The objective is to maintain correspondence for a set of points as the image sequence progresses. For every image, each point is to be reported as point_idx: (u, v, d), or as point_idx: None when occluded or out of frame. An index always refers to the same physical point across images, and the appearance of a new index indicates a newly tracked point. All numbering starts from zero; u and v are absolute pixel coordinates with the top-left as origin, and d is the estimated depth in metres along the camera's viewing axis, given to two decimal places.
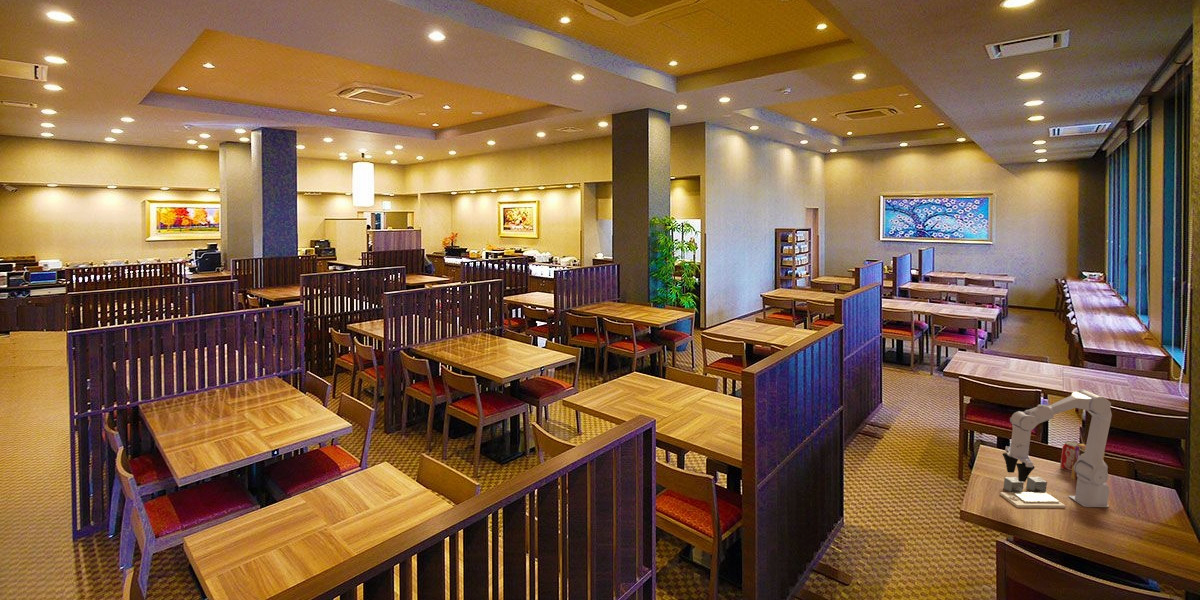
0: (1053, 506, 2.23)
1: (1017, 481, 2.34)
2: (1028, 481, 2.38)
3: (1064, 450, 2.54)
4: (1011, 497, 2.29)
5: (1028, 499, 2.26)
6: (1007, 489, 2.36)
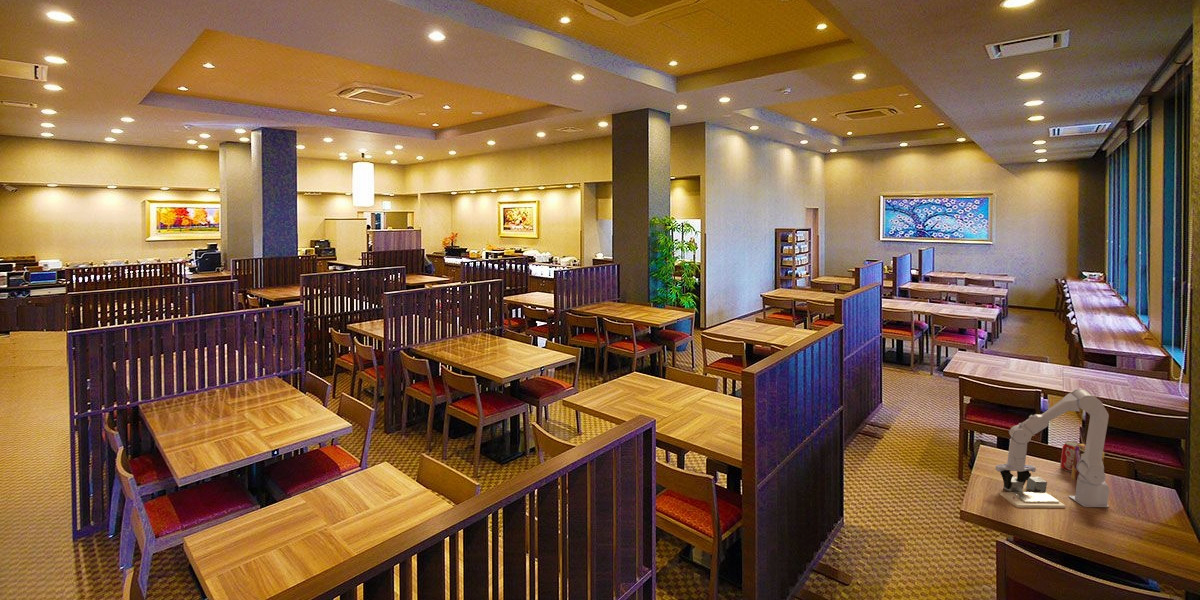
0: (1053, 506, 2.23)
1: (1017, 481, 2.34)
2: (1028, 481, 2.38)
3: (1064, 450, 2.54)
4: (1011, 497, 2.29)
5: (1028, 499, 2.26)
6: (1007, 489, 2.36)
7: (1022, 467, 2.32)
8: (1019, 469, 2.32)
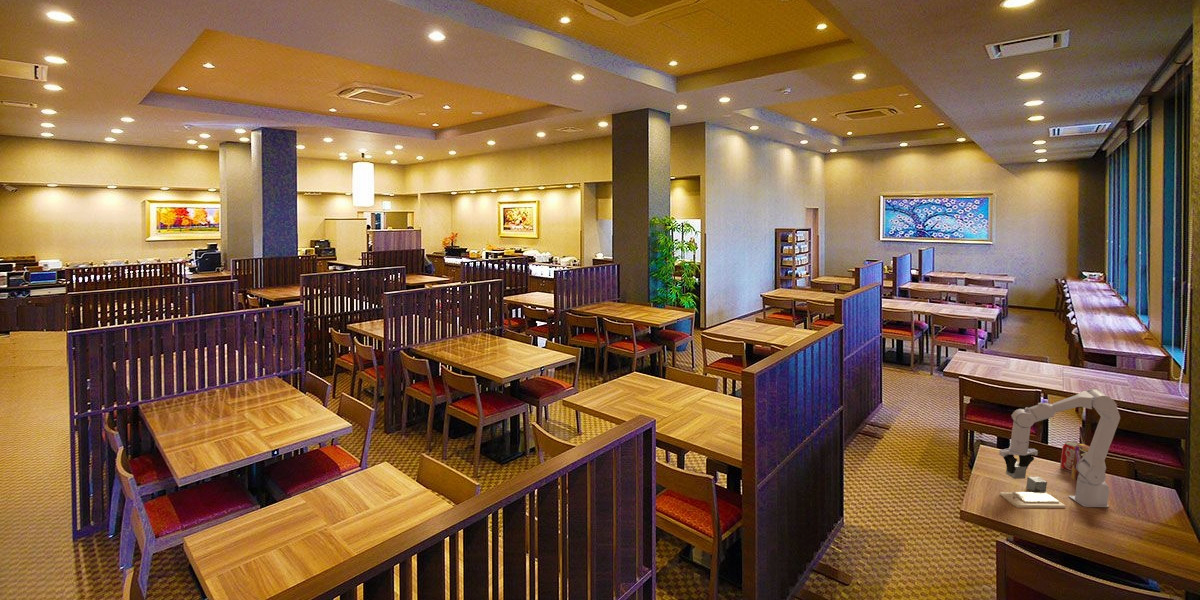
0: (1053, 506, 2.23)
1: (1020, 465, 2.33)
2: (1028, 481, 2.38)
3: (1064, 450, 2.54)
4: (1011, 497, 2.29)
5: (1028, 499, 2.26)
6: (1010, 474, 2.34)
7: (1026, 451, 2.30)
8: (1023, 453, 2.30)
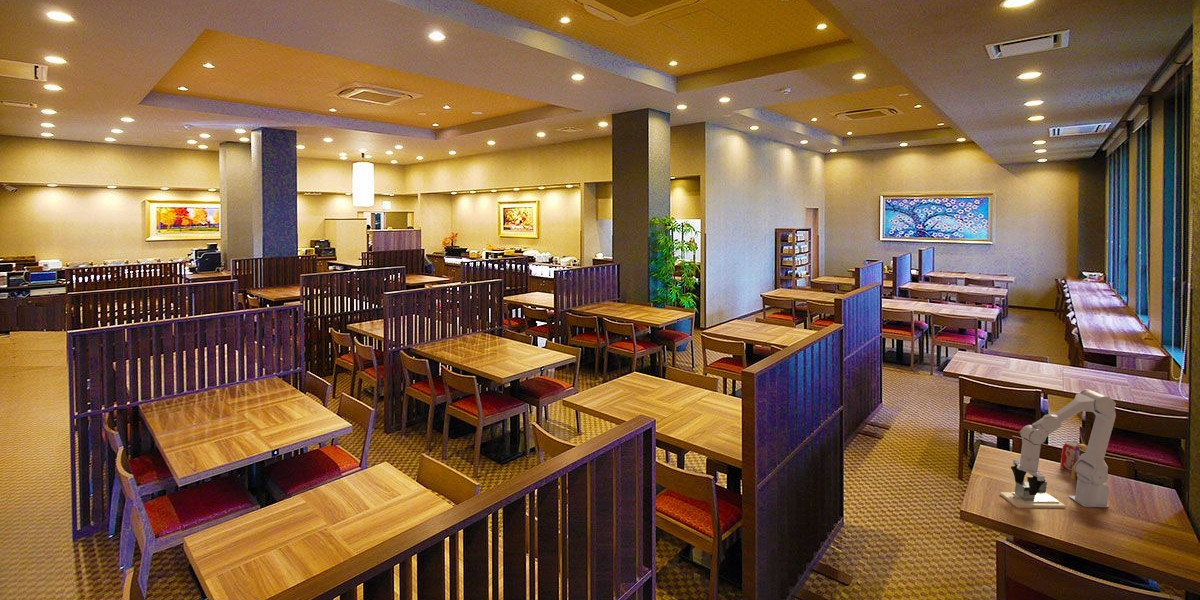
0: (1053, 506, 2.23)
1: None
2: None
3: (1064, 450, 2.54)
4: (1011, 497, 2.29)
5: (1028, 499, 2.26)
6: (1029, 497, 2.26)
7: None
8: None
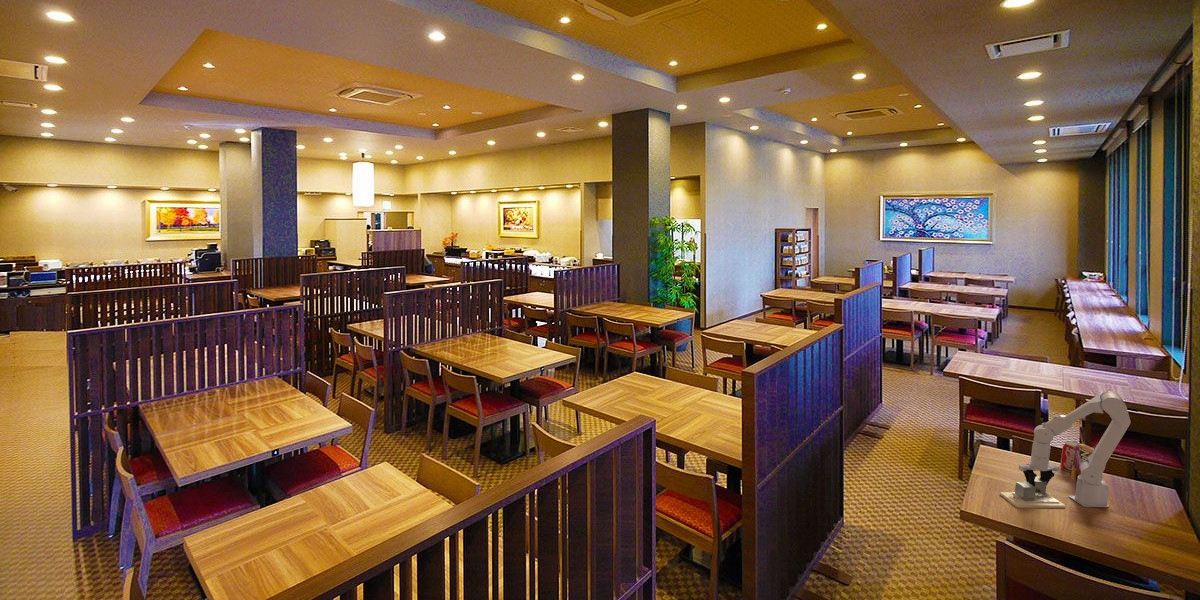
0: (1053, 506, 2.23)
1: (1029, 484, 2.28)
2: None
3: (1064, 450, 2.54)
4: (1011, 497, 2.29)
5: (1028, 499, 2.26)
6: (1029, 497, 2.26)
7: (1046, 467, 2.32)
8: (1043, 469, 2.32)
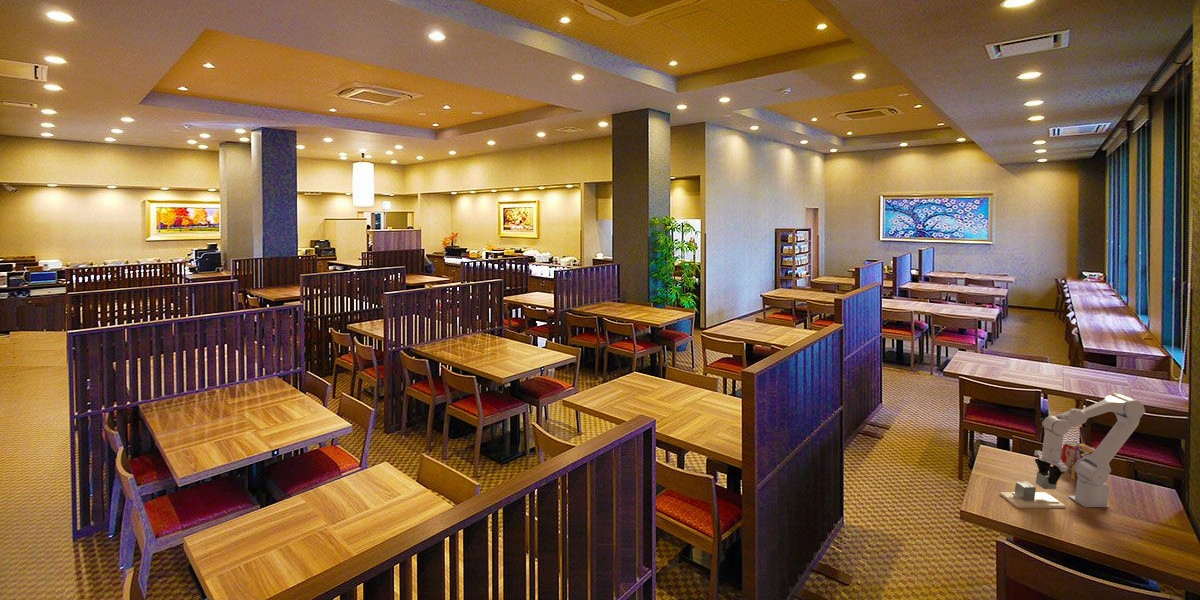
0: (1053, 506, 2.23)
1: (1029, 484, 2.28)
2: (1046, 481, 2.25)
3: (1064, 450, 2.54)
4: (1011, 497, 2.29)
5: (1028, 499, 2.26)
6: (1029, 497, 2.26)
7: None
8: None
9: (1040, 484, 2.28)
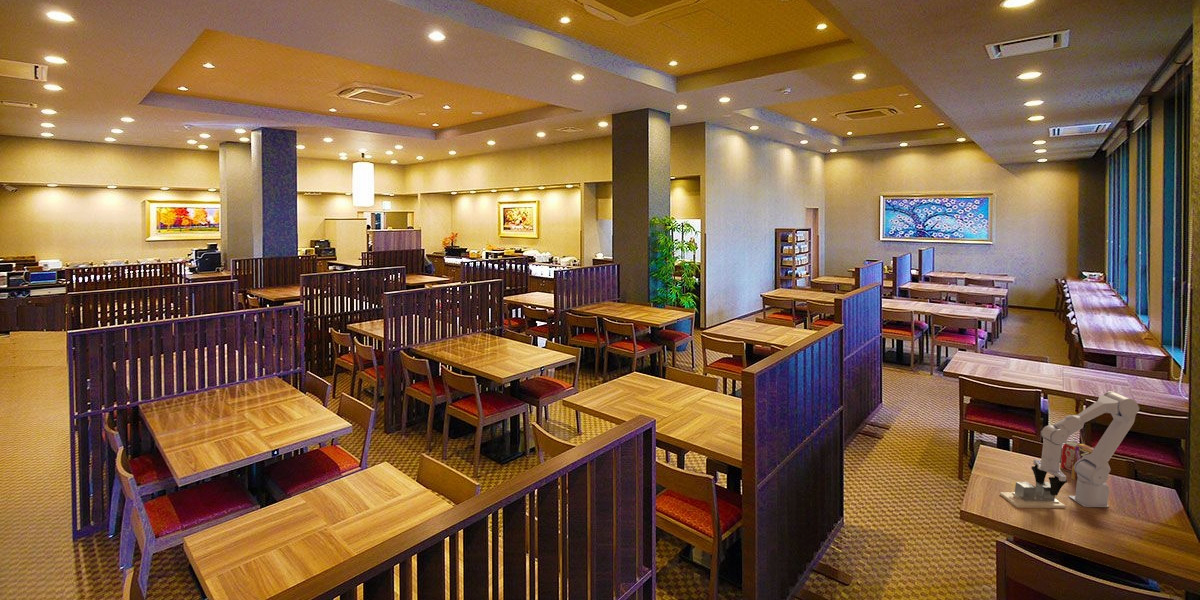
0: (1053, 506, 2.23)
1: (1029, 484, 2.28)
2: (1045, 491, 2.26)
3: (1064, 450, 2.54)
4: (1011, 497, 2.29)
5: (1028, 499, 2.26)
6: (1029, 497, 2.26)
7: None
8: None
9: (1039, 495, 2.28)
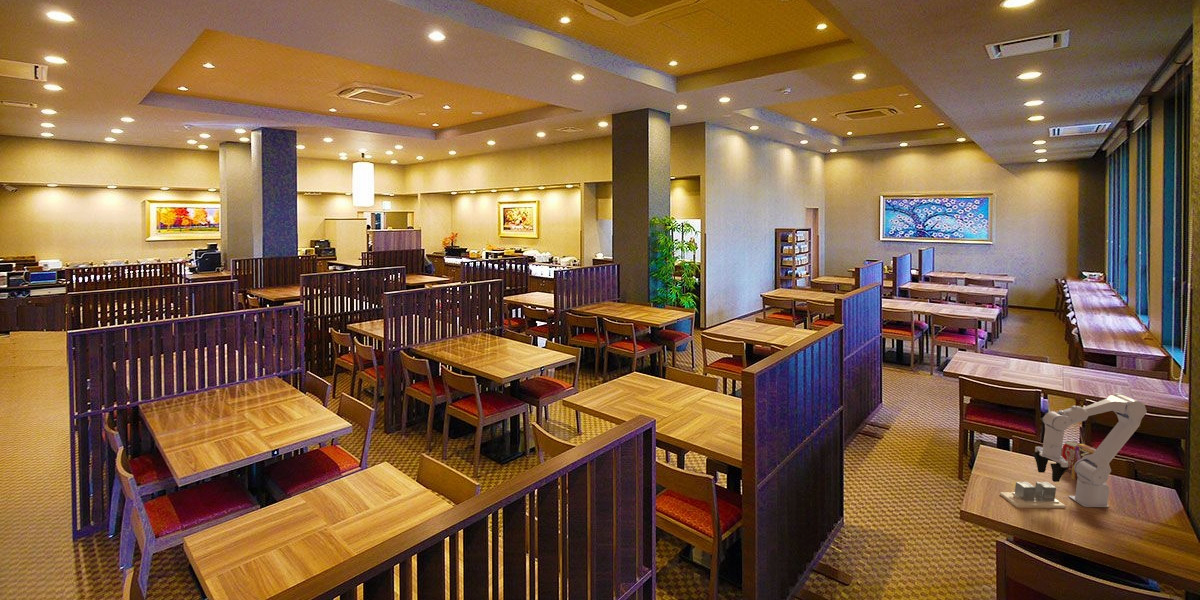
0: (1053, 506, 2.23)
1: (1029, 484, 2.28)
2: (1045, 491, 2.26)
3: (1064, 450, 2.54)
4: (1011, 497, 2.29)
5: (1028, 499, 2.26)
6: (1029, 497, 2.26)
7: None
8: None
9: (1039, 495, 2.28)
